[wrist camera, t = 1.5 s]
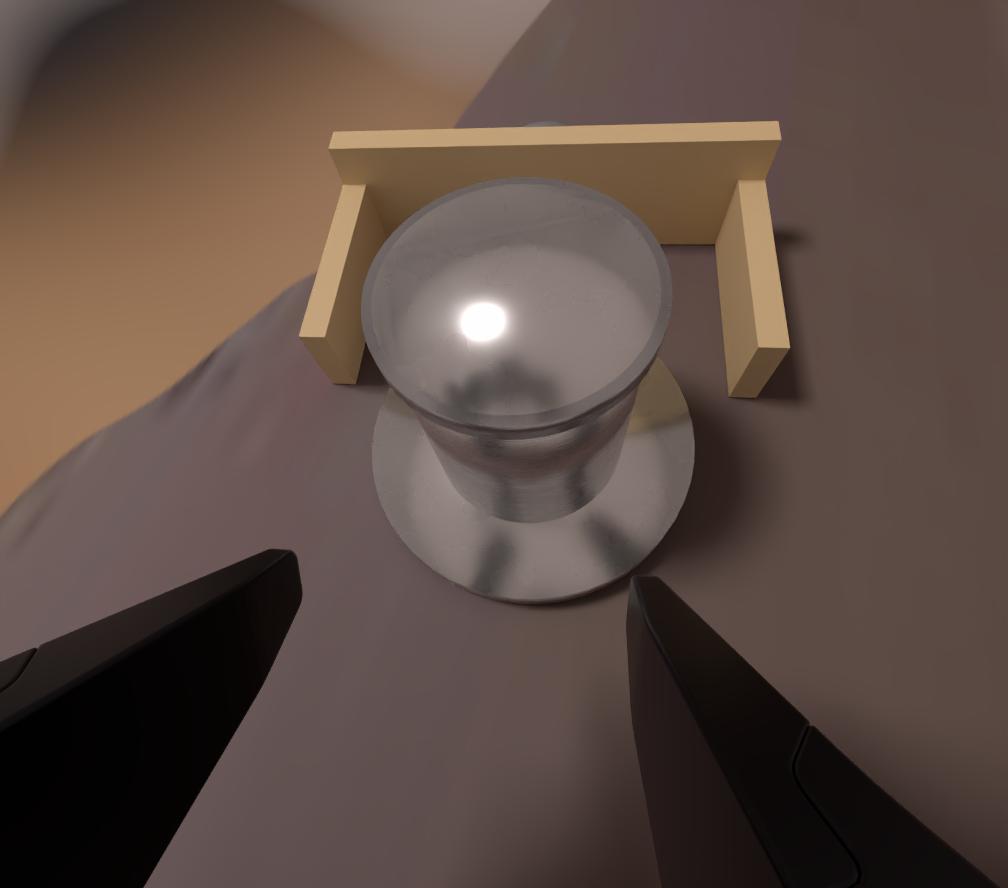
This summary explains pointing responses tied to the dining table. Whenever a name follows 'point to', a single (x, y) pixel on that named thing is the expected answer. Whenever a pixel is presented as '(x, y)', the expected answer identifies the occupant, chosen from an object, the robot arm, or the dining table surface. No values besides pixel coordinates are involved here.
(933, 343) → the dining table surface
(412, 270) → the door knob
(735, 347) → the tan wooden u-frame
